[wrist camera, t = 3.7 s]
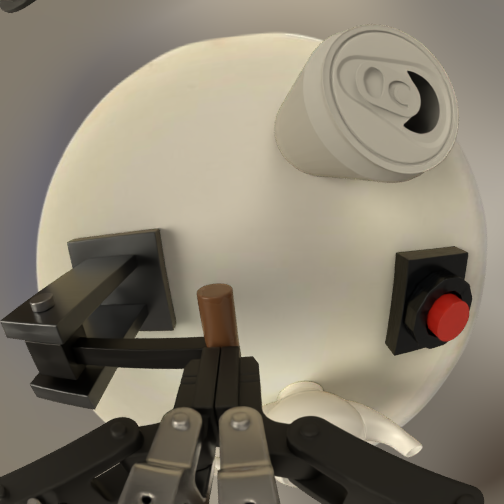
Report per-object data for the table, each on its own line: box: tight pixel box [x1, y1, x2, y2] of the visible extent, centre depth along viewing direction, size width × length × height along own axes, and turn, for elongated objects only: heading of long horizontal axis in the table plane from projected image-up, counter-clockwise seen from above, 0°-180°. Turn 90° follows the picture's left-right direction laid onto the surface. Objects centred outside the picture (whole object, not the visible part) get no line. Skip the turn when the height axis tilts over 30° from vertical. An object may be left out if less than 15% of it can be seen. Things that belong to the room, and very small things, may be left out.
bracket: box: [1, 229, 176, 409], centre depth 16 cm, size 8×8×12 cm
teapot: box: [215, 381, 422, 488], centre depth 21 cm, size 10×20×9 cm, turn 87°
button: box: [427, 293, 469, 342], centre depth 18 cm, size 4×4×2 cm
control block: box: [385, 246, 472, 356], centre depth 21 cm, size 9×7×4 cm
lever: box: [25, 283, 239, 380], centre depth 12 cm, size 11×6×2 cm, turn 95°
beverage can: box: [274, 24, 459, 183], centre depth 13 cm, size 6×6×12 cm
